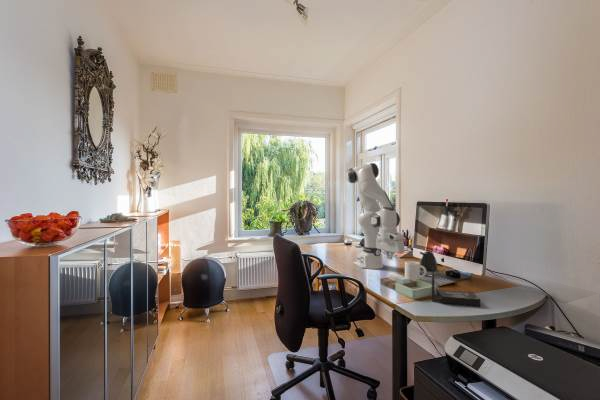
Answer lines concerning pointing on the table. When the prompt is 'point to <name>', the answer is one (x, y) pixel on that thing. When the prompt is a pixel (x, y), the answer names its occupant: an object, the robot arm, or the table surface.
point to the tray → (416, 290)
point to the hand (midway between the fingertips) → (389, 258)
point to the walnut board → (391, 283)
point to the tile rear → (394, 276)
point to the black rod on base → (455, 297)
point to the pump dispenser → (428, 263)
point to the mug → (413, 270)
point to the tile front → (402, 280)
